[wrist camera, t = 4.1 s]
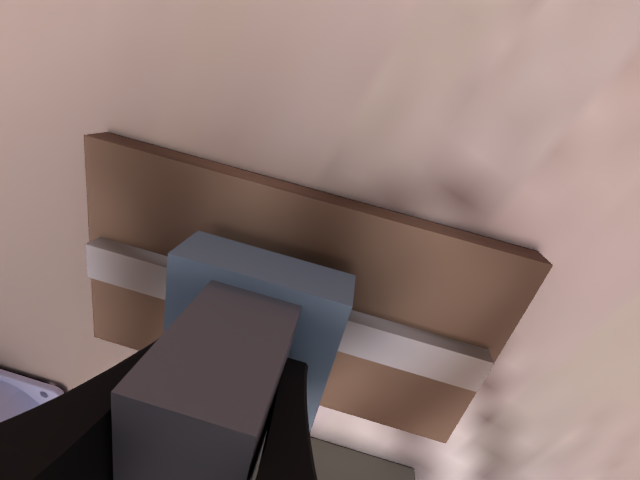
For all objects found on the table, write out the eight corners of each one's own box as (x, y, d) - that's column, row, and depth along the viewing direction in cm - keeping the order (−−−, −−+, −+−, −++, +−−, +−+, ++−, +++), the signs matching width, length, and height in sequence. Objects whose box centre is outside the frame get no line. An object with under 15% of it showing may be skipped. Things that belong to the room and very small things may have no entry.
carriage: (195, 340, 16) (61, 521, 9) (208, 223, 13) (37, 350, 6) (320, 378, 15) (279, 592, 9) (356, 265, 13) (338, 443, 6)
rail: (111, 322, 18) (81, 347, 16) (106, 132, 14) (66, 137, 12) (441, 421, 17) (449, 459, 15) (538, 251, 13) (564, 275, 11)
